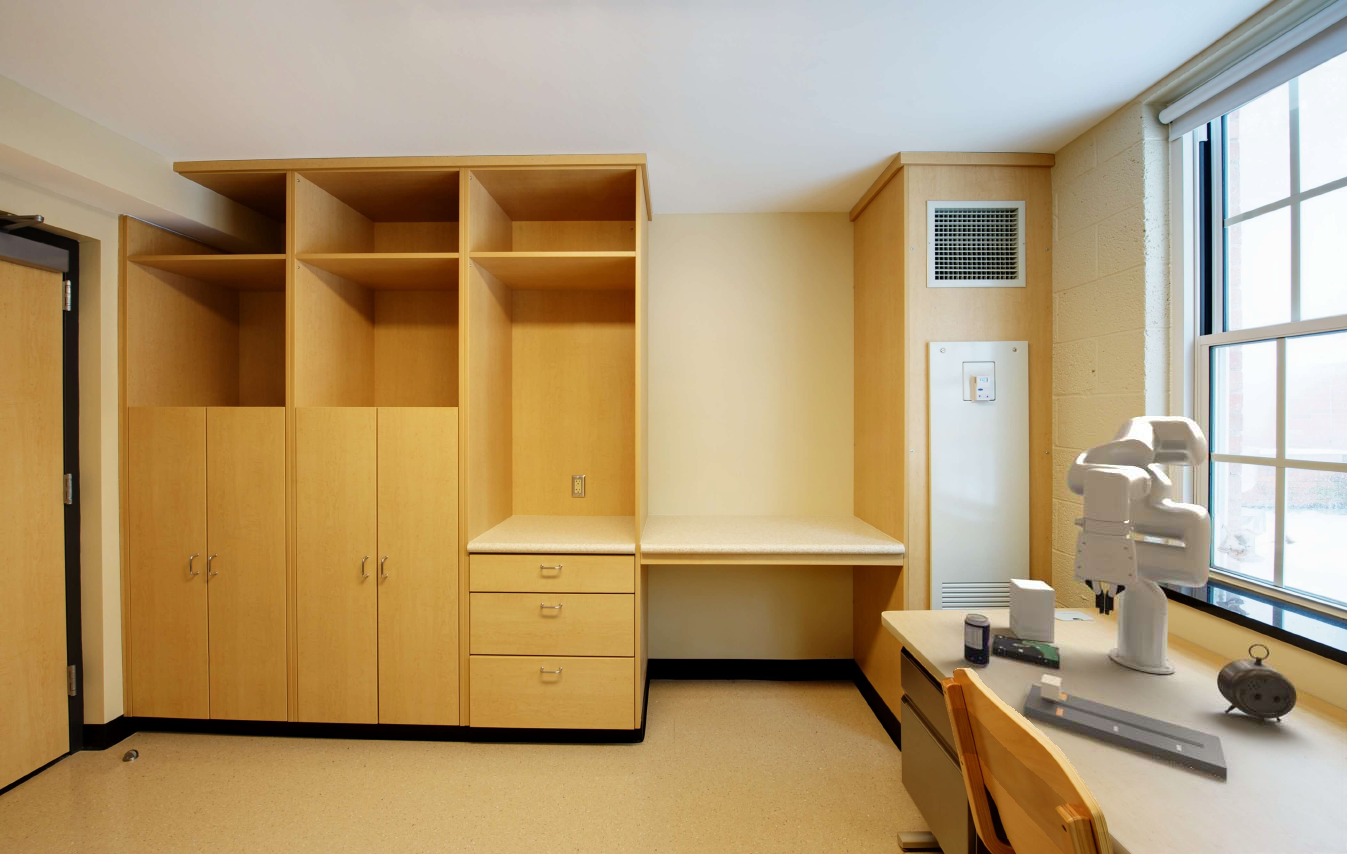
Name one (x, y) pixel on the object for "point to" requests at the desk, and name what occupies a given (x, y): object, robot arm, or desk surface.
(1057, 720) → the fader console
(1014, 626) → the supplement box
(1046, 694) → the fader knob
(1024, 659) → the disk drive
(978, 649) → the beverage can
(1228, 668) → the alarm clock
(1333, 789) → the desk surface
